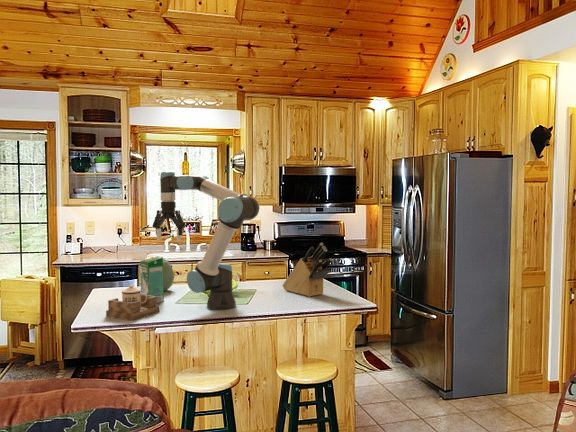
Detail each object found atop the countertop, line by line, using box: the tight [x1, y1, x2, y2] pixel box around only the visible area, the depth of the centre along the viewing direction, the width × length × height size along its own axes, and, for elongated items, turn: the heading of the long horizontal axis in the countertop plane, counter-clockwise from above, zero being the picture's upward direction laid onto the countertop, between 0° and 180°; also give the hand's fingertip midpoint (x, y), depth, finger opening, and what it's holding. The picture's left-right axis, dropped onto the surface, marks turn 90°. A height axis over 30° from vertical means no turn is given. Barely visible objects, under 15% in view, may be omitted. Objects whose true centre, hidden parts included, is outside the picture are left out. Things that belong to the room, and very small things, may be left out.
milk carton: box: [139, 255, 165, 304], centre depth 278 cm, size 9×9×25 cm
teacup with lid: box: [121, 284, 147, 308], centre depth 250 cm, size 12×9×12 cm
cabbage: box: [163, 258, 176, 292], centre depth 307 cm, size 16×19×20 cm
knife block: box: [282, 242, 333, 298], centre depth 296 cm, size 11×35×31 cm, turn 36°
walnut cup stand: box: [105, 295, 160, 321], centre depth 250 cm, size 17×19×8 cm
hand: (169, 241), depth 266 cm, fingers open, 13 cm apart
